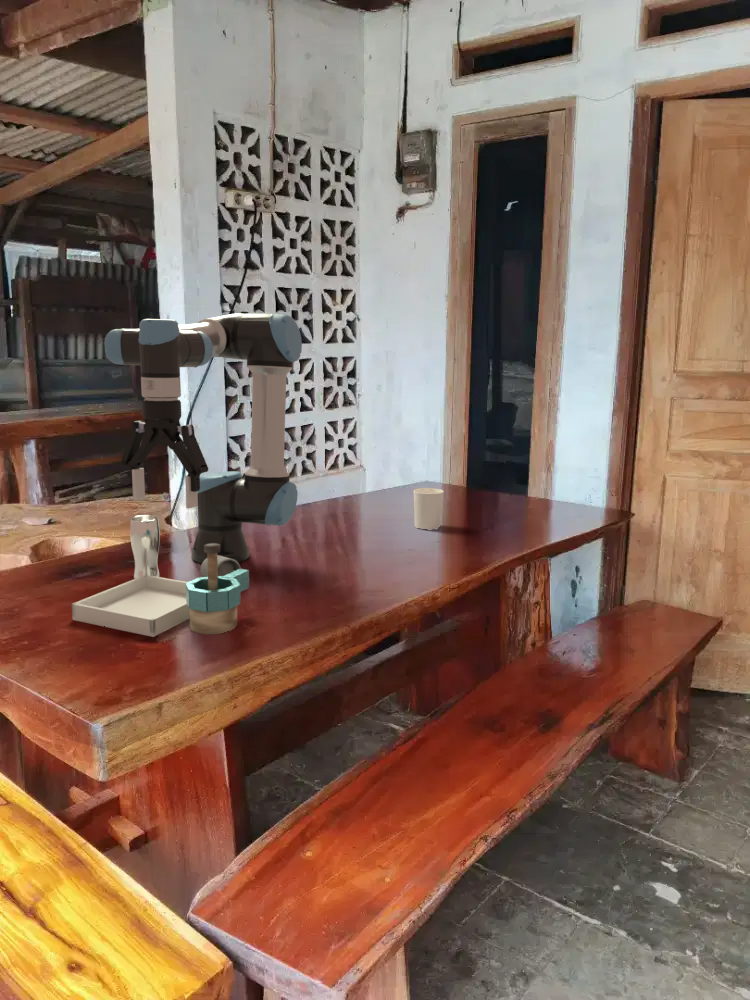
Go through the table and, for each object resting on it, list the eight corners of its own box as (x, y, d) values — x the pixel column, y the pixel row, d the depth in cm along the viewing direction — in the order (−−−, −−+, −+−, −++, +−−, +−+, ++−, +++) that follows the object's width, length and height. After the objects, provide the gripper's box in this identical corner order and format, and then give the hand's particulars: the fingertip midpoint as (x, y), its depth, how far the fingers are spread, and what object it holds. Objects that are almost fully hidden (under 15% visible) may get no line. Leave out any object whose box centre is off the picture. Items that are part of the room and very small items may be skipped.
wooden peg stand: (208, 614, 166) (206, 537, 162) (246, 621, 162) (245, 542, 158) (180, 629, 157) (177, 548, 154) (219, 637, 153) (218, 554, 150)
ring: (219, 614, 152) (219, 595, 151) (176, 606, 156) (176, 587, 155) (264, 590, 167) (264, 572, 166) (224, 583, 171) (224, 566, 170)
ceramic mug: (224, 579, 190) (223, 549, 189) (242, 587, 184) (241, 556, 183) (186, 588, 183) (184, 557, 182) (203, 597, 177) (202, 565, 176)
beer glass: (167, 575, 192) (165, 517, 189) (146, 582, 186) (143, 522, 183) (147, 571, 195) (145, 513, 192) (125, 578, 189) (123, 518, 186)
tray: (145, 588, 182) (145, 574, 181) (220, 602, 173) (220, 587, 173) (72, 619, 161) (71, 603, 160) (153, 636, 153) (152, 620, 152)
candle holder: (441, 531, 243) (442, 494, 240) (410, 529, 244) (411, 492, 242) (443, 524, 252) (445, 488, 250) (413, 522, 254) (415, 487, 251)
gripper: (99, 396, 154) (105, 500, 159) (200, 403, 144) (203, 513, 148) (126, 394, 161) (130, 493, 165) (224, 400, 151) (226, 506, 155)
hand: (165, 503), depth 157 cm, fingers open, 13 cm apart
